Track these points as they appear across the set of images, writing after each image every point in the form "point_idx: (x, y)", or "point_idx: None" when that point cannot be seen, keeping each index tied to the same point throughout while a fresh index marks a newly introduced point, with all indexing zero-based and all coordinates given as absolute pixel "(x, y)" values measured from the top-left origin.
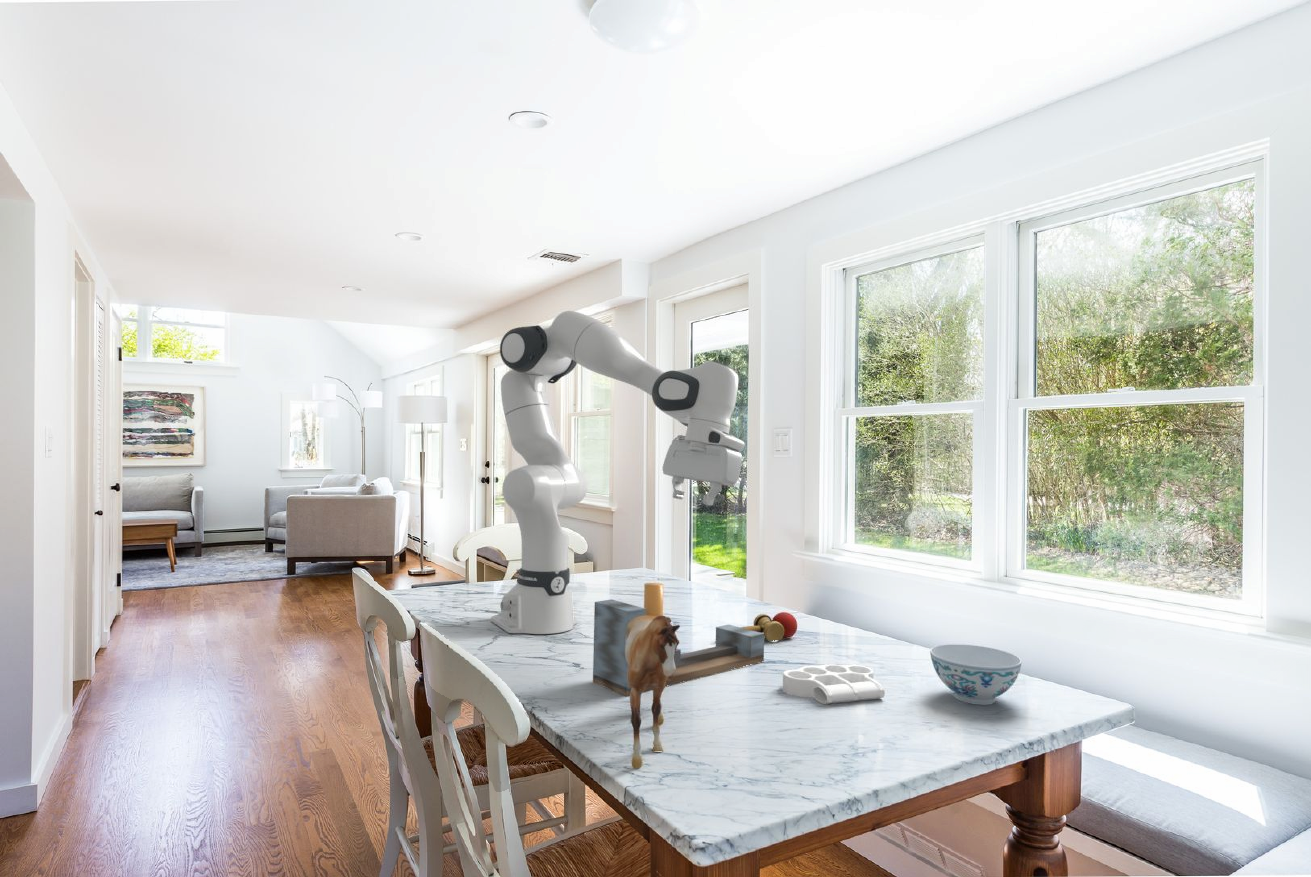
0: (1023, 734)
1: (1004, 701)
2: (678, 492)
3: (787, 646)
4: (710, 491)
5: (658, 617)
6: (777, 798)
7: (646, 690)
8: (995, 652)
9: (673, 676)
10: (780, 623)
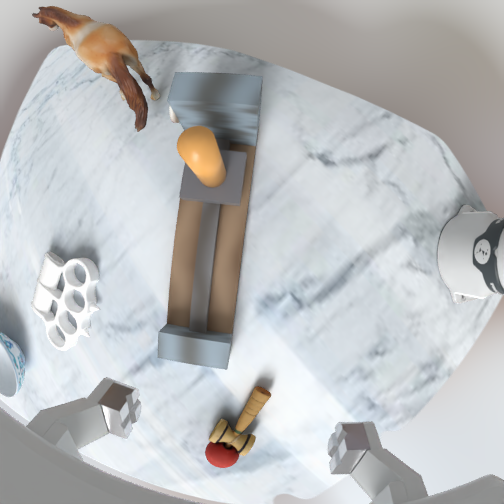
0: None
1: None
2: (343, 444)
3: (195, 417)
4: (66, 406)
5: (49, 8)
6: (34, 96)
7: None
8: (2, 391)
9: None
10: (216, 445)
